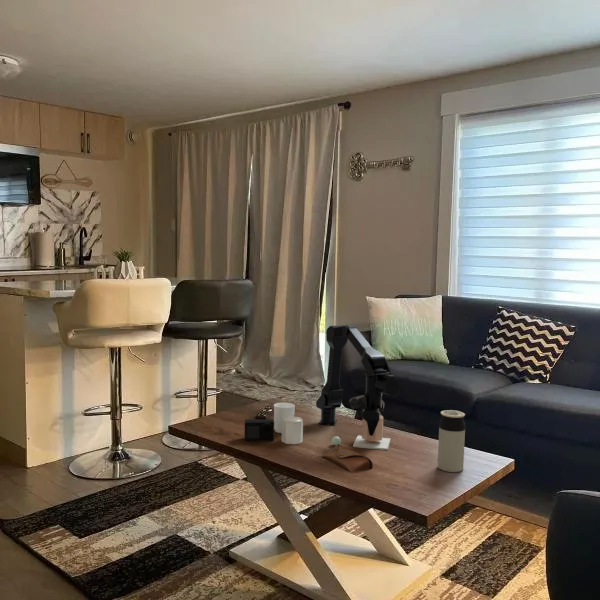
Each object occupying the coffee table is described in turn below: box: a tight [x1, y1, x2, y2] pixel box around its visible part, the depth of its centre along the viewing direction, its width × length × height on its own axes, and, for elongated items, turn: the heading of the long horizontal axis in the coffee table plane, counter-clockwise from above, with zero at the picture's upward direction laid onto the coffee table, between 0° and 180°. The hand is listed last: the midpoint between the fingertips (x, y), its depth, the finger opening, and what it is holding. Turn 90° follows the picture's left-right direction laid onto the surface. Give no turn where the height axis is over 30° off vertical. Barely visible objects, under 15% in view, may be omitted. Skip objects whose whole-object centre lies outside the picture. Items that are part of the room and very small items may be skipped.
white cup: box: [273, 402, 296, 434], centre depth 229 cm, size 8×8×10 cm
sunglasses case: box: [320, 443, 373, 473], centre depth 197 cm, size 18×7×7 cm
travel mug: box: [437, 409, 466, 473], centre depth 193 cm, size 8×8×18 cm
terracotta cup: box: [361, 414, 384, 441], centre depth 217 cm, size 7×7×8 cm
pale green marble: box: [331, 435, 342, 446], centre depth 214 cm, size 3×3×3 cm
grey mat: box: [352, 435, 391, 451], centre depth 217 cm, size 12×12×1 cm
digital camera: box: [244, 418, 275, 442], centre depth 218 cm, size 10×5×7 cm, turn 96°
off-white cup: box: [281, 416, 304, 445], centre depth 217 cm, size 7×7×8 cm
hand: (372, 432), depth 217 cm, fingers closed on terracotta cup, 7 cm apart
